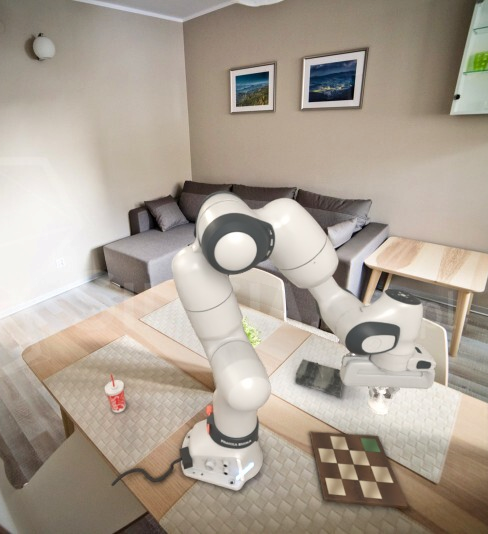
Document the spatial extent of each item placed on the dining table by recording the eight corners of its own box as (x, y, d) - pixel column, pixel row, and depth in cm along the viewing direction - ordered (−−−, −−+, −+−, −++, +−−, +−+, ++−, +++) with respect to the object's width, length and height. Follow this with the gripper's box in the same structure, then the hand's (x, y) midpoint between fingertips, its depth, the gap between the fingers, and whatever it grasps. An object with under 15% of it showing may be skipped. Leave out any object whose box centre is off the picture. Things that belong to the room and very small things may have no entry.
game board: (324, 501, 78) (325, 498, 77) (310, 434, 94) (310, 431, 93) (406, 509, 75) (407, 505, 74) (377, 438, 91) (378, 435, 91)
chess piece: (387, 402, 85) (395, 372, 81) (389, 417, 81) (396, 386, 77) (366, 397, 87) (372, 368, 83) (367, 411, 83) (373, 381, 79)
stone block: (302, 367, 119) (303, 355, 117) (345, 380, 111) (346, 368, 109) (295, 383, 112) (295, 371, 110) (340, 398, 105) (341, 386, 102)
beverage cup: (106, 412, 107) (97, 379, 101) (116, 398, 112) (108, 366, 106) (122, 416, 105) (114, 383, 99) (131, 401, 110) (124, 369, 104)
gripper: (347, 360, 76) (340, 404, 81) (444, 363, 73) (430, 408, 78) (339, 343, 81) (333, 385, 87) (429, 345, 78) (417, 388, 84)
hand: (380, 396), depth 83 cm, fingers closed on chess piece
